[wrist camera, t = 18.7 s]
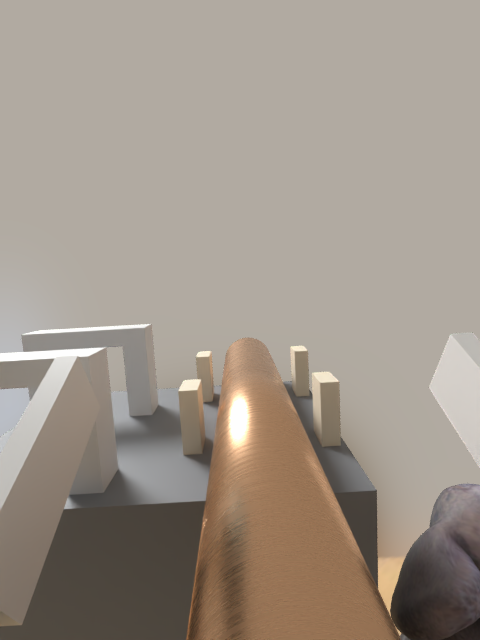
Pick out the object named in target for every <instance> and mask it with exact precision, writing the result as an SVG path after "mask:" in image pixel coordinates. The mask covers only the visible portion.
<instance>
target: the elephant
mask: <svg viewBox="0 0 480 640" xmlns="http://www.w3.org/2000/svg"><path fill="white" fill-rule="evenodd" d="M390 612H391V618H392V620H393V623H394V624H395V626H396V628H397V629H398V630H399V631H400V632H401V633H402V634H401V635H400V638H401V640H480V485H476V484H459V485H455V486H451V487H449V488H446V489H445V490H443V491H442V493H441V494H440V495H439V497H438V499H437V500H436V502H435V505H434V508H433V511H432V515H431V520H430V528H429V529H427V530H426V531H425V532H424V533H423V534H422V535H421V536H420V537H419V538H418V539H417V540H416V542H415V543H414V544H413V545H412V547H411V548H410V550H409V552H408V553H407V556H406V558H405V560H404V562H403V565H402V568H401V571H400V575H399V579H398V582H397V585H396V588H395V590H394V593H393V596H392V601H391V609H390Z"/></svg>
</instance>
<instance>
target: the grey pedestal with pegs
mask: <svg viewBox="0 0 480 640" xmlns="http://www.w3.org/2000/svg"><path fill="white" fill-rule="evenodd" d="M22 343H23V351H24V352H18V353H1V354H0V389H10V388H28V389H29V397H30V401H31V399H32V398H33V396H34V394H35V392H36V391H37V389H38V387H39V385H40V384H41V382H42V380H43V378H44V377H45V375H46V373H47V371H48V370H49V368H50V366H51V364H52V363H53V361H54V359H55V357H62V356H78V357H79V359H80V362H81V364H82V366H83V369H84V371H85V373H86V375H87V378H88V380H89V382H90V385H91V387H92V389H93V392H94V394H95V396H96V398H97V401H98V403H99V405H100V409H99V412H98V415H97V418H96V420H95V423H94V426H93V429H92V432H91V434H90V437H89V440H88V443H87V446H86V448H85V451H84V454H83V457H82V459H81V462H80V465H79V468H78V471H77V473H76V476H75V479H74V482H73V484H72V487H71V490H70V493H69V496H68V498H67V501H66V504H65V507H64V509H63V512H62V515H61V518H60V521H59V523H58V526H57V529H56V532H55V534H54V537H53V540H52V543H51V546H50V548H49V551H48V554H47V557H46V559H45V562H44V565H43V568H42V571H41V573H40V576H39V579H38V582H37V584H36V587H35V590H34V593H33V596H32V598H31V601H30V604H29V607H28V610H27V612H26V615H25V618H24V621H23V623H22V625H15V626H0V640H186V638H187V630H188V623H189V616H190V609H191V602H192V594H193V587H194V580H195V573H196V566H197V559H198V551H199V544H200V537H201V530H202V523H203V515H204V508H205V501H206V494H207V487H208V479H209V472H210V465H211V458H212V451H213V443H214V436H215V429H216V422H217V415H218V407H219V400H220V393H221V386H222V385H219V386H214V384H213V370H212V354H211V351H204V352H199V353H198V355H197V356H196V364H197V377H198V379H196V380H184V381H183V383H182V385H181V387H180V388H169V389H157V381H156V369H155V358H154V346H153V335H152V324H143V325H127V326H109V327H92V328H74V329H57V330H41V331H35V332H31V333H27V334H23V335H22ZM118 346H123V355H124V365H125V375H126V385H127V391H117V392H111V390H110V380H109V370H108V361H107V352H106V347H118ZM102 347H103V348H102ZM85 348H86V349H85ZM290 348H291V370H292V371H291V372H292V381H288V382H283V383H284V386H285V388H286V390H287V392H288V394H289V396H290V399H291V401H292V403H293V405H294V407H295V410H296V412H297V414H298V416H299V418H300V420H301V423H302V425H303V427H304V429H305V431H306V434H307V436H308V438H309V440H310V442H311V444H312V447H313V449H314V451H315V453H316V455H317V457H318V460H319V462H320V464H321V466H322V468H323V471H324V473H325V475H326V477H327V479H328V481H329V484H330V486H331V488H332V490H333V492H334V495H335V497H336V499H337V501H338V503H339V505H340V508H341V510H342V512H343V514H344V516H345V519H346V521H347V523H348V525H349V527H350V529H351V532H352V534H353V536H354V538H355V540H356V543H357V545H358V547H359V549H360V551H361V553H362V556H363V558H364V560H365V562H366V564H367V566H368V569H369V571H370V573H371V575H372V577H373V580H374V582H375V584H376V586H377V588H378V556H377V490H376V489H375V487H374V486H373V484H372V483H371V481H370V480H369V478H368V477H367V475H366V474H365V472H364V471H363V469H362V468H361V466H360V465H359V463H358V462H357V460H356V459H355V457H354V456H353V454H352V453H351V451H350V450H349V448H348V447H347V445H346V444H345V442H344V441H343V439H342V438H341V435H340V434H341V432H340V397H339V396H340V394H339V381H338V380H337V379H336V378H335V377H334V376H333V375H332V374H331V373H330V372H315V373H312V391H313V394H312V393H311V391H310V390H309V369H308V351H307V349H306V348H305V347H304V346H292V347H290ZM68 349H69V350H68ZM14 429H15V427H14V428H13V429H11V430H10V431H8V432H6V433H5V434H3V435H2V436H1V437H0V453H1V452H2V450H3V448H4V446H5V445H6V443H7V441H8V440H9V438H10V436H11V434H12V433H13V431H14Z"/></svg>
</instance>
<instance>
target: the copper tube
mask: <svg viewBox="0 0 480 640" xmlns="http://www.w3.org/2000/svg"><path fill="white" fill-rule="evenodd" d="M186 640H401V638H400V636H399V634H398V632H397V630H396V628H395V625H394V623H393V621H392V619H391V617H390V614H389V612H388V610H387V608H386V606H385V604H384V601H383V599H382V597H381V595H380V593H379V590H378V588H377V586H376V584H375V582H374V580H373V577H372V575H371V573H370V571H369V569H368V566H367V564H366V562H365V560H364V558H363V556H362V553H361V551H360V549H359V547H358V545H357V543H356V540H355V538H354V536H353V534H352V532H351V529H350V527H349V525H348V523H347V521H346V519H345V516H344V514H343V512H342V510H341V508H340V505H339V503H338V501H337V499H336V497H335V495H334V492H333V490H332V488H331V486H330V484H329V481H328V479H327V477H326V475H325V473H324V471H323V468H322V466H321V464H320V462H319V460H318V457H317V455H316V453H315V451H314V449H313V447H312V444H311V442H310V440H309V438H308V436H307V434H306V431H305V429H304V427H303V425H302V423H301V420H300V418H299V416H298V414H297V412H296V410H295V407H294V405H293V403H292V401H291V399H290V396H289V394H288V392H287V390H286V388H285V386H284V383H283V381H282V379H281V377H280V375H279V372H278V371H277V368H276V366H275V364H274V362H273V359H272V357H271V355H270V353H269V351H268V349H267V347H266V346H265V345H264V344H263V343H262V342H261V341H259V340H257V339H254V338H242V339H239V340H237V341H235V342H234V343H233V344H232V345H231V346H230V347H229V349H228V350H227V353H226V358H225V364H224V372H223V379H222V386H221V393H220V400H219V407H218V415H217V422H216V429H215V436H214V443H213V451H212V458H211V465H210V472H209V479H208V487H207V494H206V501H205V508H204V515H203V523H202V530H201V537H200V544H199V551H198V559H197V566H196V573H195V580H194V587H193V594H192V602H191V609H190V616H189V623H188V630H187V638H186Z"/></svg>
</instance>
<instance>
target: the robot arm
mask: <svg viewBox="0 0 480 640" xmlns="http://www.w3.org/2000/svg"><path fill="white" fill-rule="evenodd" d="M429 389H430V391H431V392H432V394H433V395H434V397H435V398H436V400H437V402H438V403H439V405H440V406H441V408H442V409H443V411H444V413H445V414H446V416H447V417H448V419H449V421H450V422H451V424H452V425H453V427H454V428H455V430H456V431H457V433H458V435H459V436H460V438H461V440H462V441H463V443H464V444H465V446H466V447H467V449H468V451H469V452H470V454H471V455H472V457H473V458H474V460H475V462H476V463H477V465H478V466H479V468H480V340H479V339H478V338H477V337H476V336H475V335H474V334H473V332H472V333H455V334H450V337H449V339H448V342H447V344H446V347H445V349H444V351H443V354H442V356H441V359H440V361H439V364H438V366H437V369H436V371H435V374H434V376H433V378H432V381H431V384H430V386H429ZM99 409H100V405H99V403H98V401H97V398H96V396H95V394H94V392H93V389H92V387H91V385H90V382H89V380H88V378H87V375H86V373H85V371H84V369H83V366H82V364H81V362H80V359H79V357H78V356H62V357H55V359H54V361H53V363H52V364H51V366H50V368H49V370H48V371H47V373H46V375H45V377H44V378H43V380H42V382H41V384H40V385H39V387H38V389H37V391H36V392H35V394H34V396H33V398H32V399H31V401H30V403H29V405H28V406H27V408H26V410H25V412H24V413H23V415H22V417H21V419H20V420H19V422H18V424H17V426H16V427H15V429H14V431H13V433H12V434H11V436H10V438H9V440H8V441H7V443H6V445H5V446H4V448H3V450H2V452H1V453H0V626H15V625H22V623H23V621H24V618H25V615H26V612H27V610H28V607H29V604H30V601H31V598H32V596H33V593H34V590H35V587H36V584H37V582H38V579H39V576H40V573H41V571H42V568H43V565H44V562H45V559H46V557H47V554H48V551H49V548H50V546H51V543H52V540H53V537H54V534H55V532H56V529H57V526H58V523H59V521H60V518H61V515H62V512H63V509H64V507H65V504H66V501H67V498H68V496H69V493H70V490H71V487H72V484H73V482H74V479H75V476H76V473H77V471H78V468H79V465H80V462H81V459H82V457H83V454H84V451H85V448H86V446H87V443H88V440H89V437H90V434H91V432H92V429H93V426H94V423H95V420H96V418H97V415H98V412H99Z"/></svg>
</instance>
